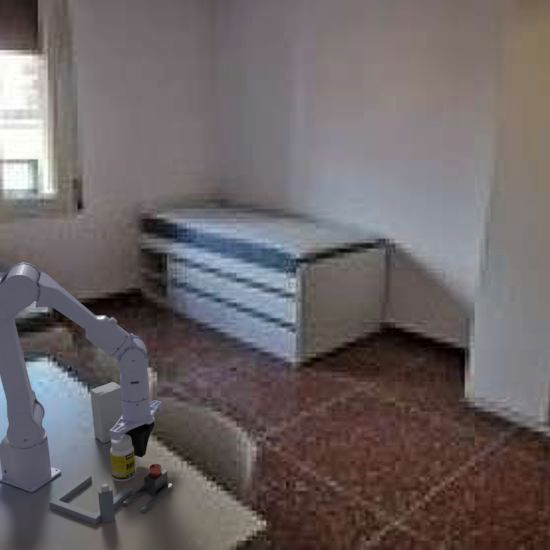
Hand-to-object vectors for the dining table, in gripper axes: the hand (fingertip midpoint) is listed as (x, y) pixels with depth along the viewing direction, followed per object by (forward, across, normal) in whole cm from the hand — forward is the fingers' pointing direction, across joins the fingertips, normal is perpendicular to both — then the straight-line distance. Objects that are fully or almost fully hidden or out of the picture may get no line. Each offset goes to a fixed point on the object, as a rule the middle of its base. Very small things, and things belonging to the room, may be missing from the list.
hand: (139, 454), depth 141 cm
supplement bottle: (+2, -5, 0) cm, 6 cm away
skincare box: (+2, +6, +13) cm, 14 cm away
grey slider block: (+2, -6, -9) cm, 11 cm away
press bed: (+2, -15, -1) cm, 15 cm away
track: (+2, -9, -9) cm, 13 cm away
